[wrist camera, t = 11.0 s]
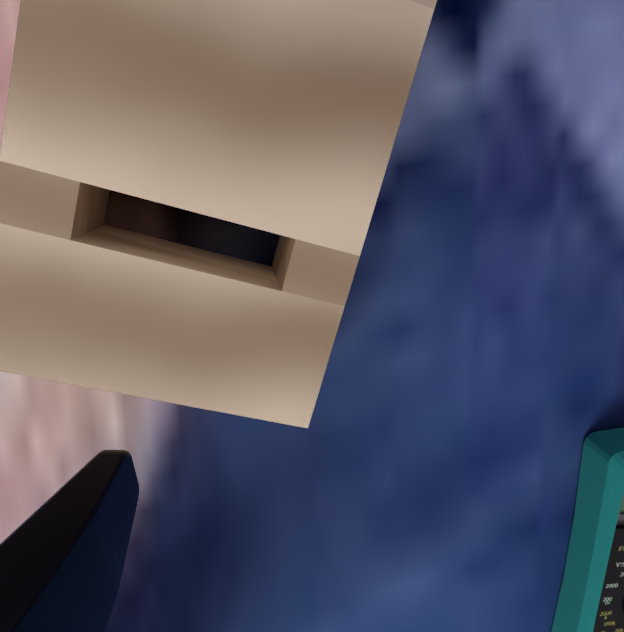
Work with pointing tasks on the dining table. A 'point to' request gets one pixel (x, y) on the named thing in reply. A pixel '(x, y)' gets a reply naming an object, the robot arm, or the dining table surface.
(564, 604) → the digital multimeter
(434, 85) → the dining table surface
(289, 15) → the socket block
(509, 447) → the dining table surface
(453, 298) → the dining table surface
